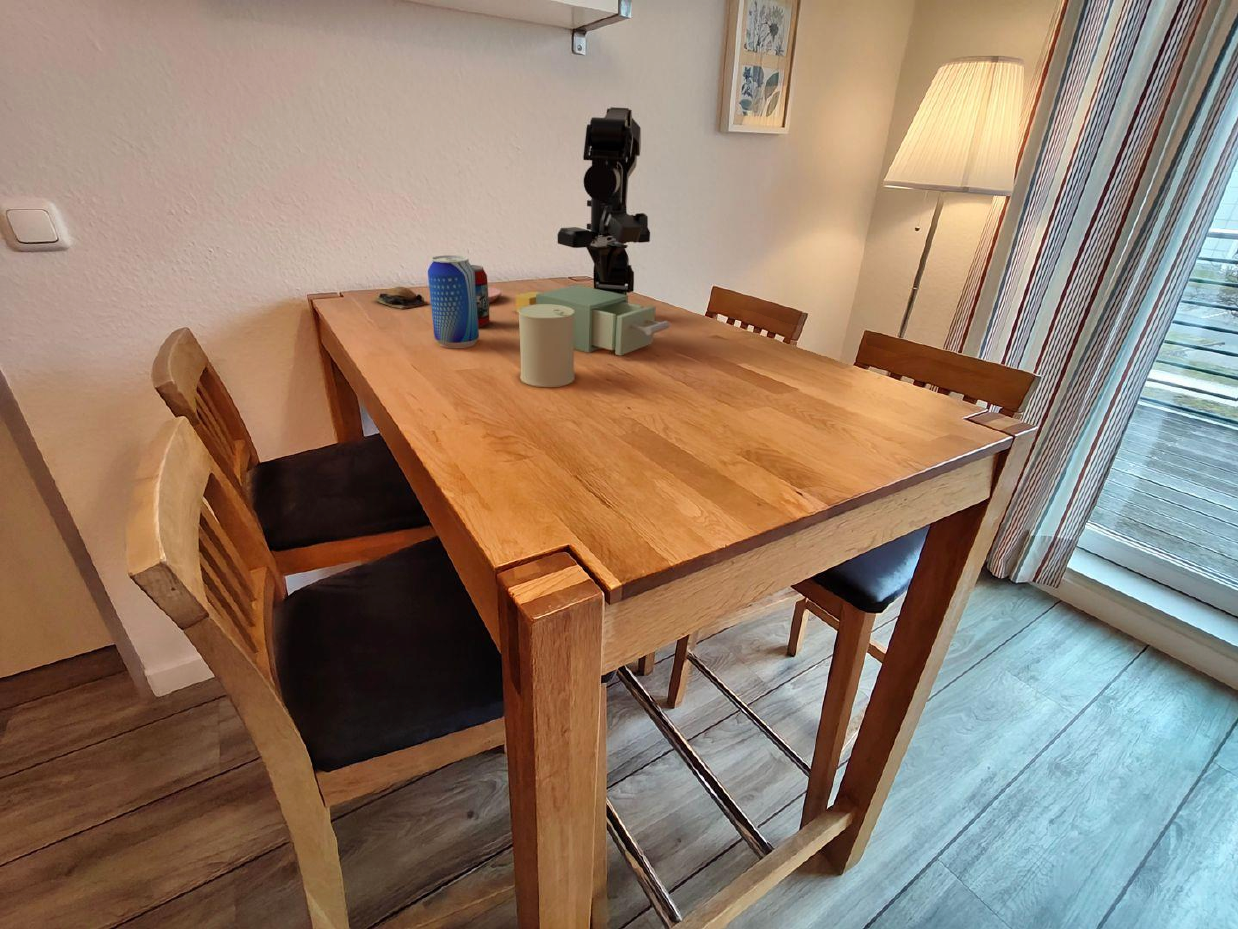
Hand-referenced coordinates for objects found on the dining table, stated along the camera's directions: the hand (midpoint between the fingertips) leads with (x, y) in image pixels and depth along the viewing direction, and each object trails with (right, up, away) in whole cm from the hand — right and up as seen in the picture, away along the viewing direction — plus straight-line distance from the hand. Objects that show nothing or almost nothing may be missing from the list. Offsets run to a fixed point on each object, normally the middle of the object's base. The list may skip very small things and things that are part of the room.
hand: (603, 281), depth 117 cm
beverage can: (-29, -6, +11) cm, 31 cm away
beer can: (-29, -13, -2) cm, 32 cm away
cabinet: (-5, -11, +4) cm, 12 cm away
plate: (-34, +5, +30) cm, 46 cm away
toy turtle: (-50, +2, +24) cm, 55 cm away
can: (-9, -22, -17) cm, 29 cm away
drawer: (+4, -13, -1) cm, 14 cm away
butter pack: (-18, 0, +22) cm, 29 cm away
